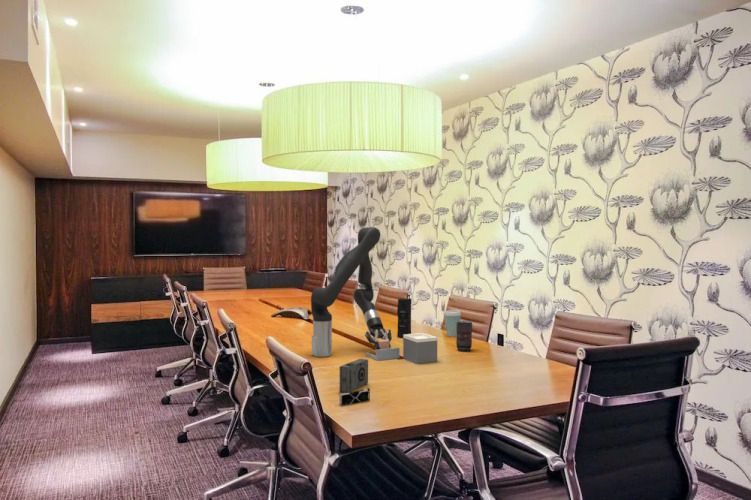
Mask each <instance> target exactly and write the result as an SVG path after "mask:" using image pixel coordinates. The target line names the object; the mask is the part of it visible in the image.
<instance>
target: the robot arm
mask: <svg viewBox="0 0 751 500" xmlns="http://www.w3.org/2000/svg"><path fill="white" fill-rule="evenodd" d="M380 239H381V231H380V230H379V229H378V228H377V227H371V226H369V227H361V228H360V229H359V231H358V233H357V245H356V246H355V247H353V248H352V249H351V250H349V251H348V252H346V253H345V254H344V255H343V256H342V257H341V259H340V260H339V262H338V263H337V264H336V266H335V269H334V275H333V278H332V279H331V280H330V282H329V284H328V285H327V286H326V287H316V288H314V289H313V290H312V293H311V296H310V306H311V307H310V308H311V309H310V310H311V312H310V313H311V315H312V335H311V355H312V356H313V357H315V358H318V357H319V358H320V357H321V358H322V357H323V358H325V357H330V356H332V355H333V315H332V314H331V312H329V309H328V307H331V306H332V305H334V303H335V302H336V300H337V298H338V296H339V294H340V293H341V291H342V290H343V288H344V286H345V285H346V283H348V281H349V279H350V278H351V277H352V276H353V274H354V273H355V271H357V269H358V276H357V278H358V281H357V283H359V284H360V285H362V286H364V288H357V289H355V290H354V291H353V300H354V302H355V304H356V305H357V306H358V307H359V309H360V310H361V312H362V315H363V317H364V321H365V323H366V327H367V329H368V331H365V333H364V337H365V338H366V339H367V341H368V342H369V344H370V345H372V344H373V345H374V348H376V349H377V350H379V349H380V346H379V344H378V342H377V340H379V339H380V340H382V339H385V340H388V341H389V348H392V346H391V342H392V339H393V338H392V337H393V336H392V331H391V329H388V330H387V329H386V328H384V325H383V321H382V320H381V319H382V318H381V317H380V314H379V312H378V311H377V308H376V306H375V304H374V302H372V301H373V299H374V297H375V293H374V289H373V283H372V279H373V278H372V276H373V266H372V262H371V258H370V255H369V253H370V252H371V251H372V250H373V248H375V246H376V245H377V244H378V243H379V241H380Z"/></svg>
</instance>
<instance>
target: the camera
mask: <svg viewBox="0 0 751 500" xmlns="http://www.w3.org/2000/svg"><path fill="white" fill-rule="evenodd" d="M367 383H368V384H369V359H364V358H359V359H356V360H353V361H350V362H347V363H345V364H343V365H339V387H338V388H339V393H351V392H354V391H356V390H358V389H360V388H362V387H364V386H366V385H368V384H367ZM365 384H366V385H365ZM363 385H364V386H363ZM361 386H362V387H361ZM359 387H360V388H359ZM357 388H358V389H357ZM355 389H356V390H355ZM353 390H354V391H353Z"/></svg>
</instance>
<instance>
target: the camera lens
mask: <svg viewBox="0 0 751 500" xmlns="http://www.w3.org/2000/svg"><path fill="white" fill-rule="evenodd" d="M456 332H457V337H456V341H455V344H456V348H457V351H458V352H462V353H463V352H464V353H465V352H466V353H467V352H468V353H469V352H471V350H472V349H471V348H472V347H473V346H472V344H473V342H472V341H473V340H472V339H473V338H472V336H473V335H472V334H473V322H472V321H469V320H468V321H467V320H460V321H457V324H456Z"/></svg>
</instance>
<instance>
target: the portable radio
mask: <svg viewBox="0 0 751 500" xmlns="http://www.w3.org/2000/svg"><path fill="white" fill-rule="evenodd" d="M408 295H409V297H408V298H405V297H400V298H398V299H397V309H396V315H397V333H396V334H397V338H399V337H400V338H402V339H403V335H405V334H412V302H413V301H412V298H411V294H408Z"/></svg>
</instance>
